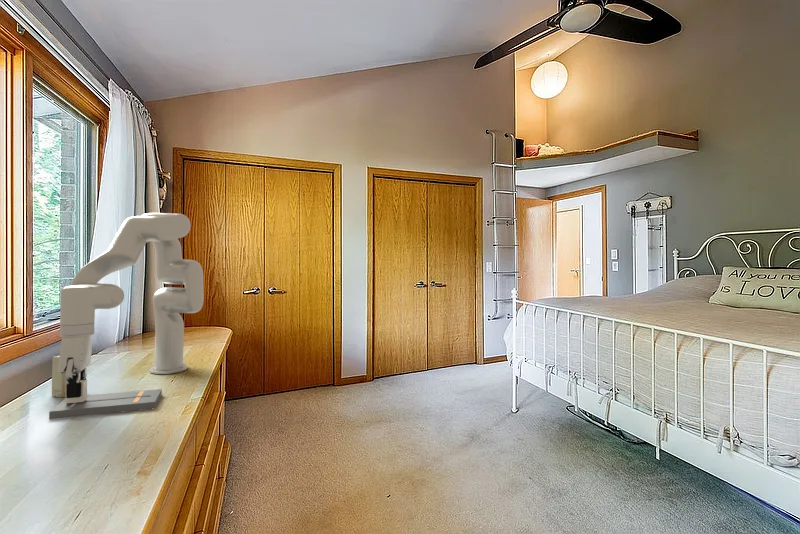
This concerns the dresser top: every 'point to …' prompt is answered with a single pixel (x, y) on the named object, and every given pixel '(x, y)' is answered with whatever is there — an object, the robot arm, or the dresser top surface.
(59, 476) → the dresser top surface
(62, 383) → the skincare box
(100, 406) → the fader board
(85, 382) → the fader tab
